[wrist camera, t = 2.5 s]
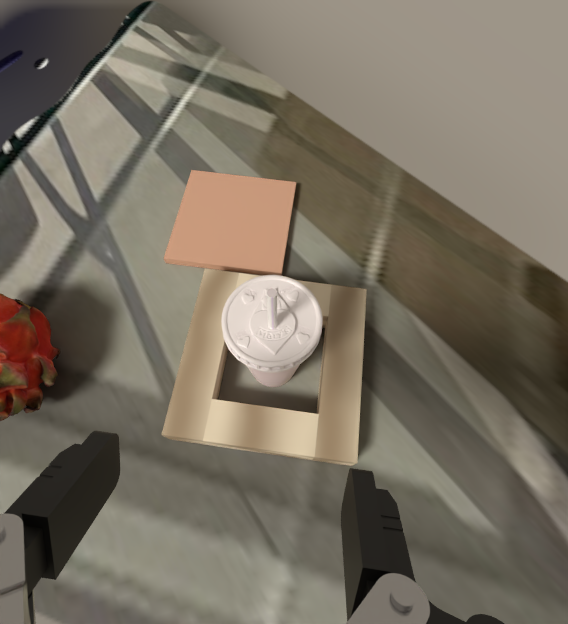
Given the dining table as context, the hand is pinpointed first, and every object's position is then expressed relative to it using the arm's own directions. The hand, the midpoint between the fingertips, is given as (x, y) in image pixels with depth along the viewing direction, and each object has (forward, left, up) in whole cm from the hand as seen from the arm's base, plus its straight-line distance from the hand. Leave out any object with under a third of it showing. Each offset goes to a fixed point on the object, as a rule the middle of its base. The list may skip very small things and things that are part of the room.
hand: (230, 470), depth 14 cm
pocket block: (0, -9, -17) cm, 20 cm away
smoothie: (0, -9, -18) cm, 20 cm away
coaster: (+6, -23, -17) cm, 30 cm away
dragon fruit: (+21, -6, -18) cm, 28 cm away
